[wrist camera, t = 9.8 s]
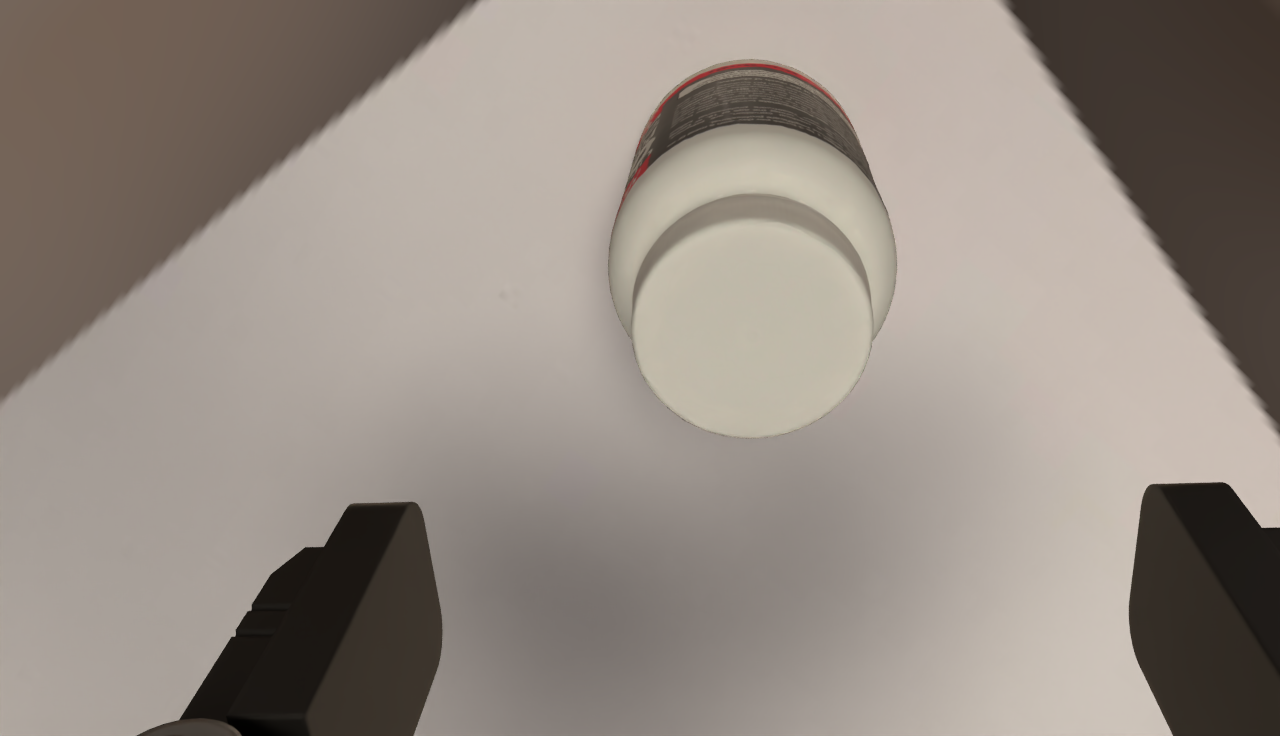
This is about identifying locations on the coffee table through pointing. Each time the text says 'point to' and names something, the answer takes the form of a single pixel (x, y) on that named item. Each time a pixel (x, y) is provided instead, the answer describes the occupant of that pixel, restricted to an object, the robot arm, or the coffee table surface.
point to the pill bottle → (751, 251)
